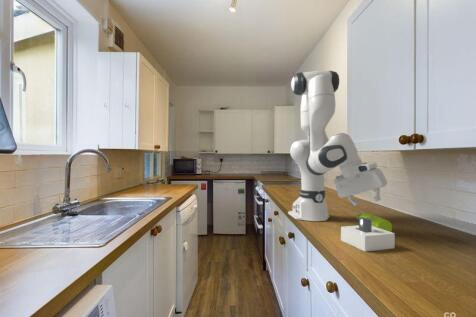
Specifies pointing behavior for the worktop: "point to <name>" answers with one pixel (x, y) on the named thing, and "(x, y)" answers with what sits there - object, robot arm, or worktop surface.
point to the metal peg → (365, 225)
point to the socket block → (368, 238)
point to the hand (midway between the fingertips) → (367, 203)
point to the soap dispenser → (377, 221)
